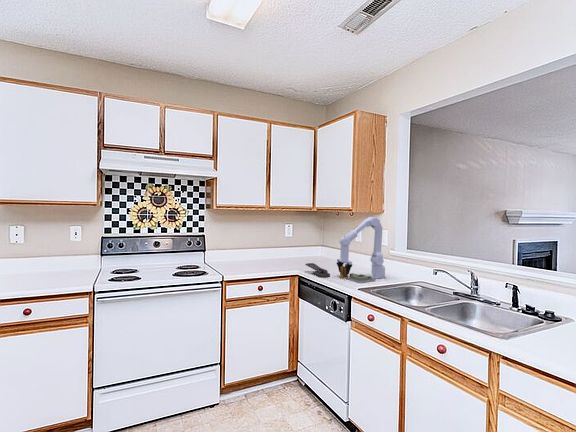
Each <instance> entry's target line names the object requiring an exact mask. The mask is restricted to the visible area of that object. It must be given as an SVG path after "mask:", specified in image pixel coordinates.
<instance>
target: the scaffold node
mask: <svg viewBox="0 0 576 432" xmlns="http://www.w3.org/2000/svg"><path fill="white" fill-rule="evenodd" d="M370 276H371V277H370ZM345 279H346V280H348V281H351V282H354V283H357V284H364V283H365V284H366V283H371V282H376V279H377V278H374V275H371V274H370V275H367V274H358V273H354V272H351V273H350V272H349V276H348V277H346V278H345Z"/></svg>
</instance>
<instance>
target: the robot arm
mask: <svg viewBox="0 0 576 432" xmlns="http://www.w3.org/2000/svg"><path fill="white" fill-rule="evenodd" d="M369 227H371V228H372V229H373V230H374V237H373V238H374V239H373V251H372V253H371V257H370V262H371V274H370V275H369V276H370V278H371V275H374V279H383V278H386V268H385V265H383V264H384V262H385V261H384V257H383V256H384V255H383V253H382V246H383V245H382V242H383V226H382V223H381V220H380V219H379V218H378V217H375V216H373V217H372V216H369V217H367V218H365V219H364V220H363V221H362V222H361V223H360V224H359V225H358V226H357V227H356V228H355V229H354V230H353V229H351V230H349V231H348V233H347V234H346V235H344V237H341V238H340V240H339V245H340V257H339V258H337V259H336V265H337V268H338V272H339V273H340V266H345V268H346V274H348V275H350V271H351V268H352V267H353V261H351V260H349V257H350V256H349V255H350V254H349V253H350V250H349V248H350V247H349V246H350V244H351V243H352V242H353V240H355V239H356V238H357V237H358V234H359V233H360V232H362V231H363V230H364V229H365V228H369Z"/></svg>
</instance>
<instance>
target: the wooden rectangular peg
mask: <svg viewBox="0 0 576 432" xmlns="http://www.w3.org/2000/svg"><path fill="white" fill-rule="evenodd" d="M339 275H340V276H339V278H340V279H346V277H349V276H348V275H349V274H346V268H345V265H343V266H340V272H339Z"/></svg>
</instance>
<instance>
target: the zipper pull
mask: <svg viewBox="0 0 576 432" xmlns="http://www.w3.org/2000/svg"><path fill="white" fill-rule="evenodd" d="M305 266H307V267H308V268H311V269H313V270H314V271H312V275H313V274H314V276H315V275H316V277H317V278H321V279H325V278H327V279H328V278H331V274H330V273H329V271H328V270H327V269H325V268H322V267H320V266H318V265H317V264H316V263H314V262H309V263H305Z"/></svg>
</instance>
